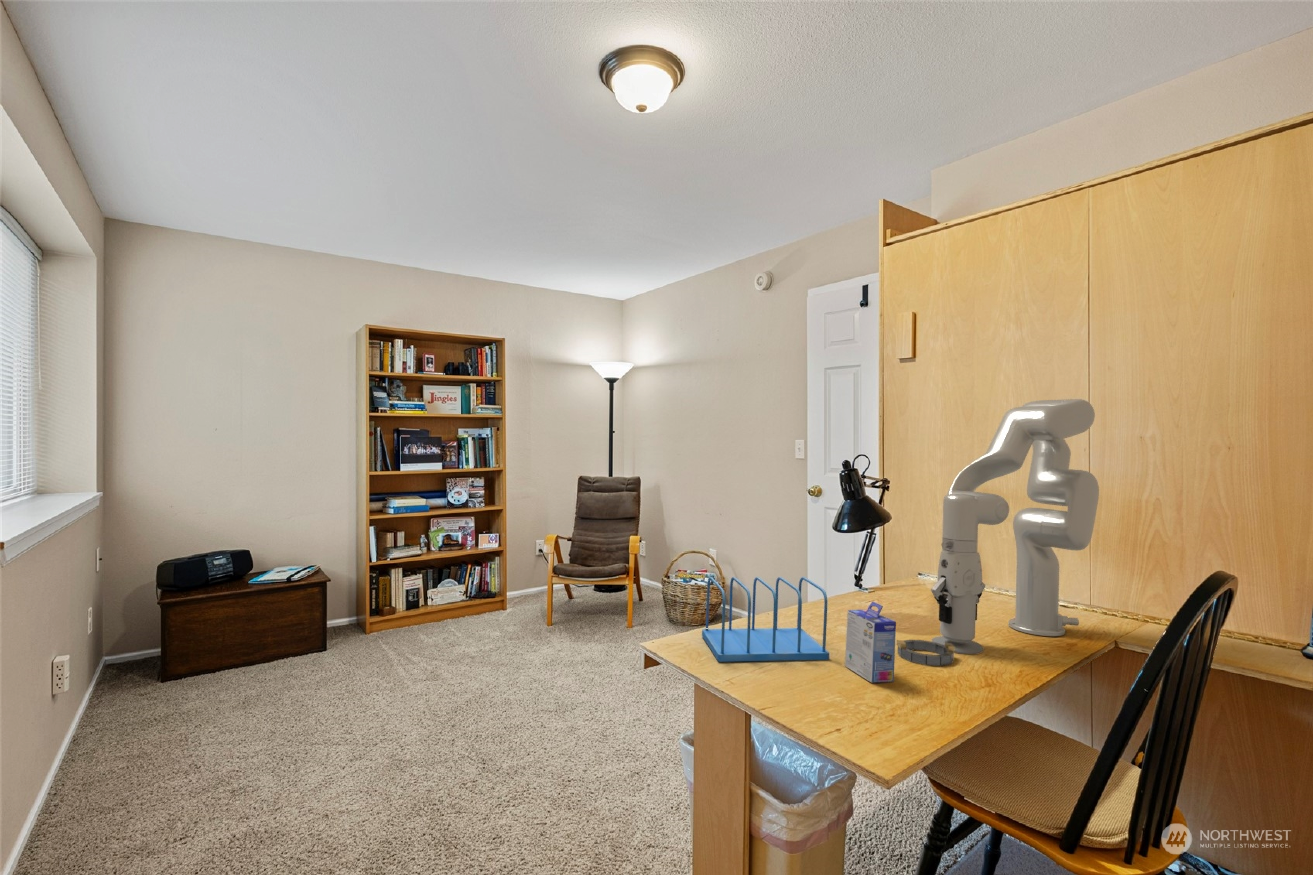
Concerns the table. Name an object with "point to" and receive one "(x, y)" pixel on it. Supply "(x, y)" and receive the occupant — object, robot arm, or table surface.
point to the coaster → (961, 646)
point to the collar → (926, 659)
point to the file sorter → (764, 632)
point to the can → (961, 619)
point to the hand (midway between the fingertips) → (957, 620)
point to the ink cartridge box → (870, 644)
